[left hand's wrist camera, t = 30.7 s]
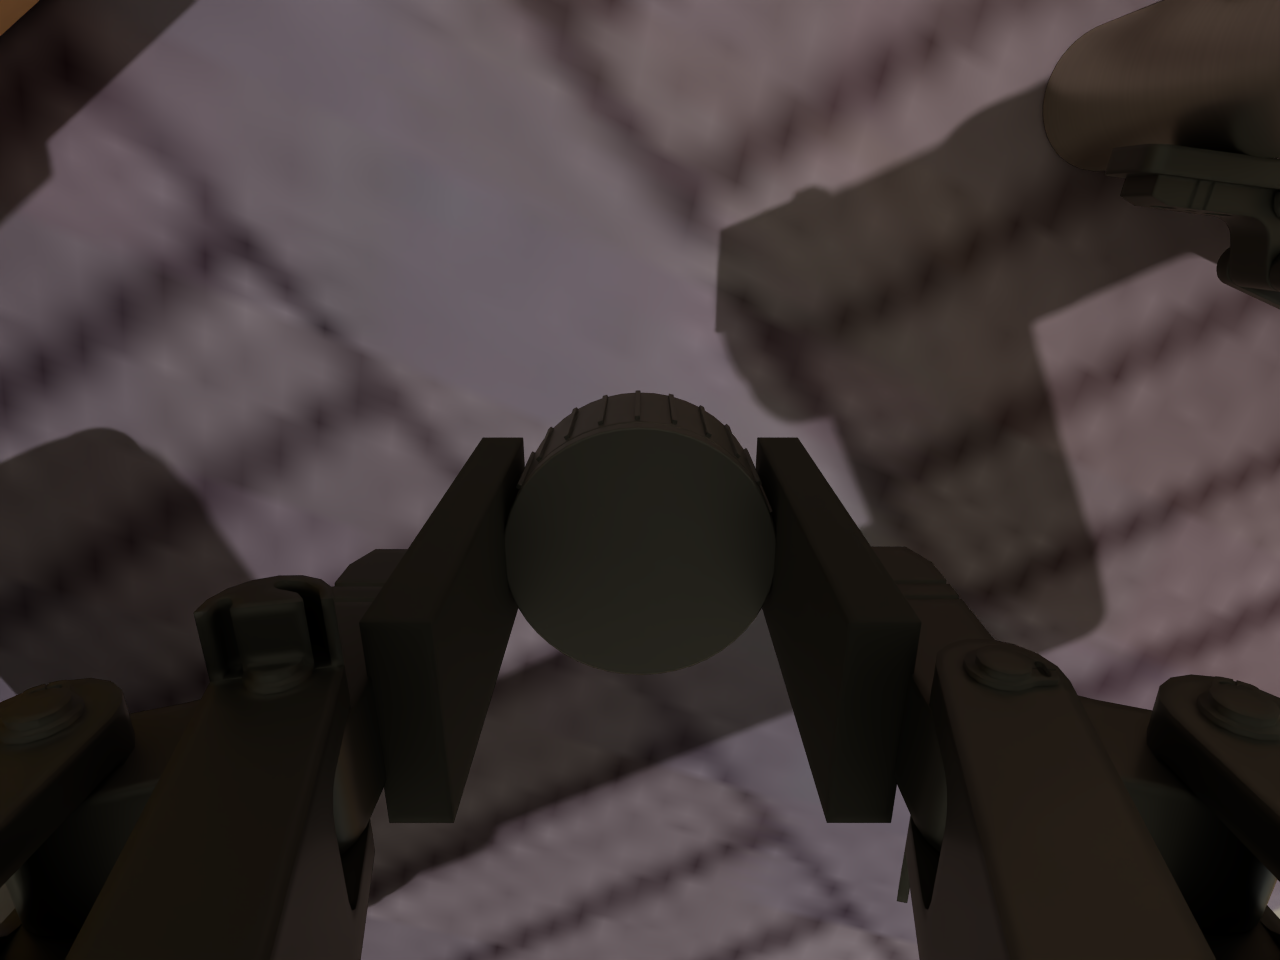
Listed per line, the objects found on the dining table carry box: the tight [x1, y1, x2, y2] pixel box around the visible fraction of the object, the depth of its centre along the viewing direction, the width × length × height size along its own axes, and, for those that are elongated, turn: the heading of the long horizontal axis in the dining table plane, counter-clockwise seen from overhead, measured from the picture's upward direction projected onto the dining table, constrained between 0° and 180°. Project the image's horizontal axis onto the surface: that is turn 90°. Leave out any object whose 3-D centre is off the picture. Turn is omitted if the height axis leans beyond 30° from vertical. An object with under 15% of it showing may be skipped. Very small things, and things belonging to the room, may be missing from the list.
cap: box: [504, 391, 776, 675], centre depth 13 cm, size 5×5×2 cm
